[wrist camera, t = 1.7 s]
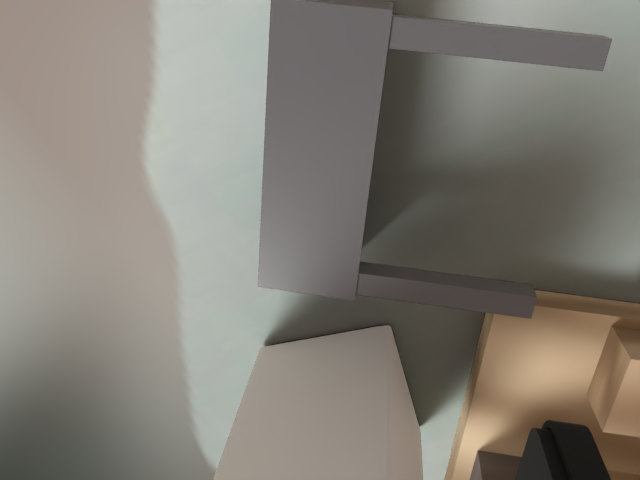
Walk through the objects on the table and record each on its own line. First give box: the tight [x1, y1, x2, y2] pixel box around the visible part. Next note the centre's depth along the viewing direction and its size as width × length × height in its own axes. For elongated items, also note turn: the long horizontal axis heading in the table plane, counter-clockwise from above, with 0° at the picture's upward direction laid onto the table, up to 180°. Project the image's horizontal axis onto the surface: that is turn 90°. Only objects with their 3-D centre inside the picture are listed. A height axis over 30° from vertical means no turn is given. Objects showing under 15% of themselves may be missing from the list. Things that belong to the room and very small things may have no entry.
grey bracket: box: [258, 0, 612, 319], centre depth 23 cm, size 11×11×5 cm
